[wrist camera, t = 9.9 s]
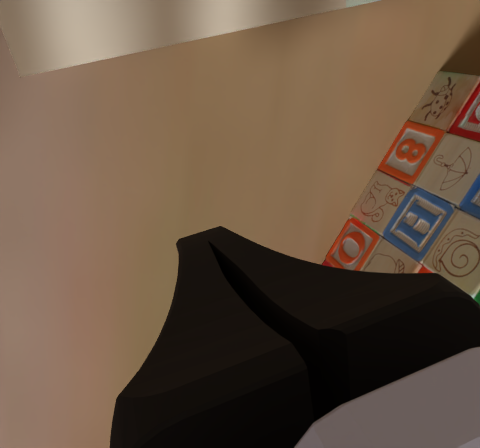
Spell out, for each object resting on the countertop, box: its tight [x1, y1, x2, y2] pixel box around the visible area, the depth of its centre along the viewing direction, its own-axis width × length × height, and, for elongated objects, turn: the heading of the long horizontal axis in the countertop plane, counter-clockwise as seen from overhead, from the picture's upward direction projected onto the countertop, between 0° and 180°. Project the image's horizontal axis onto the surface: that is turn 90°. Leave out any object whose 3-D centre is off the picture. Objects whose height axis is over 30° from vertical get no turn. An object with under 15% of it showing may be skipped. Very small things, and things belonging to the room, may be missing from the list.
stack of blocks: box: [322, 71, 480, 305], centre depth 22 cm, size 21×6×12 cm, turn 150°
